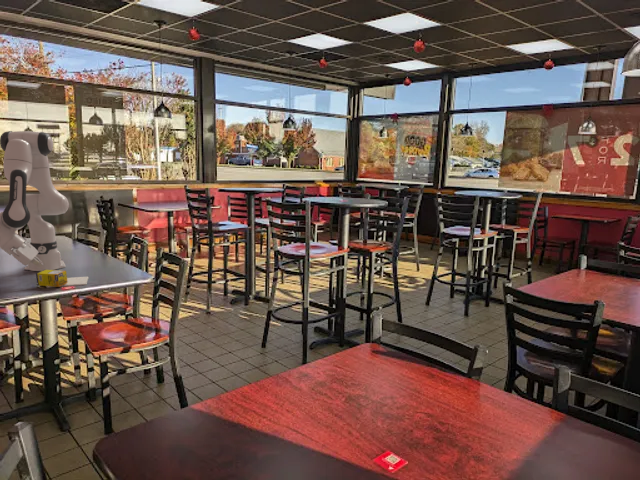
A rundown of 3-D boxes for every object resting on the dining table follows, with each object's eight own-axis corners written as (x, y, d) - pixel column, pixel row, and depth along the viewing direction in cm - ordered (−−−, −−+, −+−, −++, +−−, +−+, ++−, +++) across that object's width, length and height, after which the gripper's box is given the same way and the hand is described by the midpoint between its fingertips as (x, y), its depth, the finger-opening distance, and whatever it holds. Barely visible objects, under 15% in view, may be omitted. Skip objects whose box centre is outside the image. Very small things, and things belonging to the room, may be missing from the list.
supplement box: (37, 285, 212) (59, 287, 211) (35, 273, 211) (57, 274, 209) (46, 281, 218) (68, 283, 217) (44, 269, 217) (66, 270, 215)
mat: (51, 280, 224) (51, 278, 224) (88, 277, 230) (88, 276, 230) (46, 287, 211) (46, 286, 211) (86, 284, 217) (86, 283, 217)
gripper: (15, 244, 201) (43, 265, 206) (24, 236, 220) (50, 256, 225) (3, 255, 200) (32, 275, 205) (14, 246, 219) (40, 265, 224)
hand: (41, 265), depth 215 cm, fingers closed
